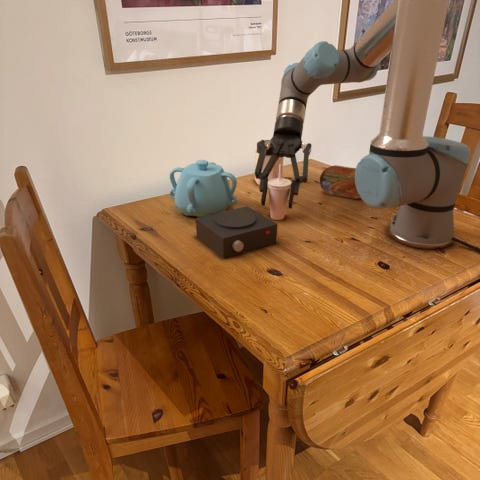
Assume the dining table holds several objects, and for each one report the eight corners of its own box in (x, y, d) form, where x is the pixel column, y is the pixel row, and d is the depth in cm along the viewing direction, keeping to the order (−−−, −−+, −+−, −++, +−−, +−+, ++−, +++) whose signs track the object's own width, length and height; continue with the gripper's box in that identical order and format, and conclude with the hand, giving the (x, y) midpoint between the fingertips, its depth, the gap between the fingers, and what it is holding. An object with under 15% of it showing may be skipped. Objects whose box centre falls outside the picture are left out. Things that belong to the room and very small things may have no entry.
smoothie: (287, 212, 123) (291, 161, 115) (290, 221, 118) (295, 169, 110) (264, 212, 123) (267, 161, 115) (266, 222, 118) (269, 169, 110)
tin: (317, 192, 136) (321, 164, 131) (321, 189, 138) (324, 161, 133) (366, 201, 131) (371, 172, 126) (369, 198, 133) (374, 169, 128)
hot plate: (279, 245, 107) (280, 223, 104) (226, 260, 100) (225, 238, 97) (247, 224, 117) (247, 203, 113) (196, 237, 110) (195, 215, 107)
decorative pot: (242, 218, 120) (243, 167, 112) (184, 226, 115) (181, 174, 107) (221, 197, 132) (220, 150, 124) (168, 204, 127) (164, 155, 119)
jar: (267, 188, 138) (269, 149, 131) (249, 182, 143) (250, 143, 136) (286, 182, 143) (289, 143, 136) (268, 176, 148) (270, 138, 141)
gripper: (325, 133, 120) (313, 214, 117) (255, 129, 123) (241, 207, 120) (326, 116, 113) (314, 202, 109) (252, 112, 116) (237, 195, 113)
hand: (276, 204), depth 115 cm, fingers closed on smoothie, 6 cm apart
